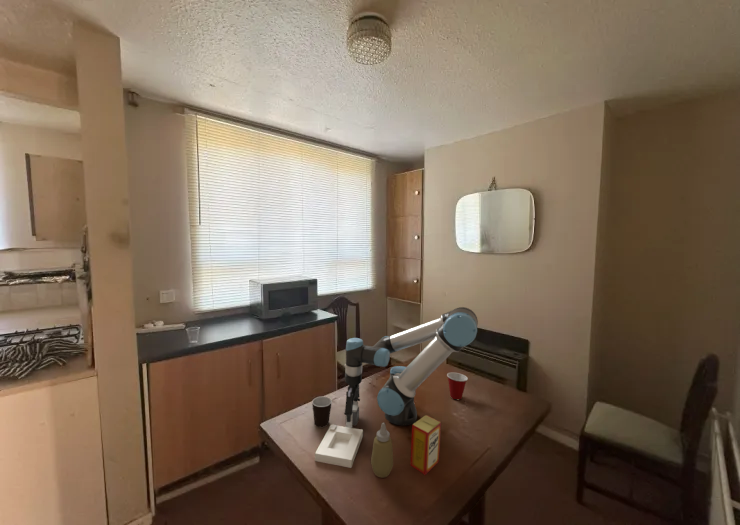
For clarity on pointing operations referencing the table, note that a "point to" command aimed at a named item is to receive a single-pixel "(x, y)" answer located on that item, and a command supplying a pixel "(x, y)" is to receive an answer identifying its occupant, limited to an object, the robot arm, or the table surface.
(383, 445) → the squeeze bottle
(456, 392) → the plastic cup
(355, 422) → the plug
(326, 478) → the table surface
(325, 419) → the coffee mug
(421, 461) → the baking soda box
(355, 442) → the socket plate
